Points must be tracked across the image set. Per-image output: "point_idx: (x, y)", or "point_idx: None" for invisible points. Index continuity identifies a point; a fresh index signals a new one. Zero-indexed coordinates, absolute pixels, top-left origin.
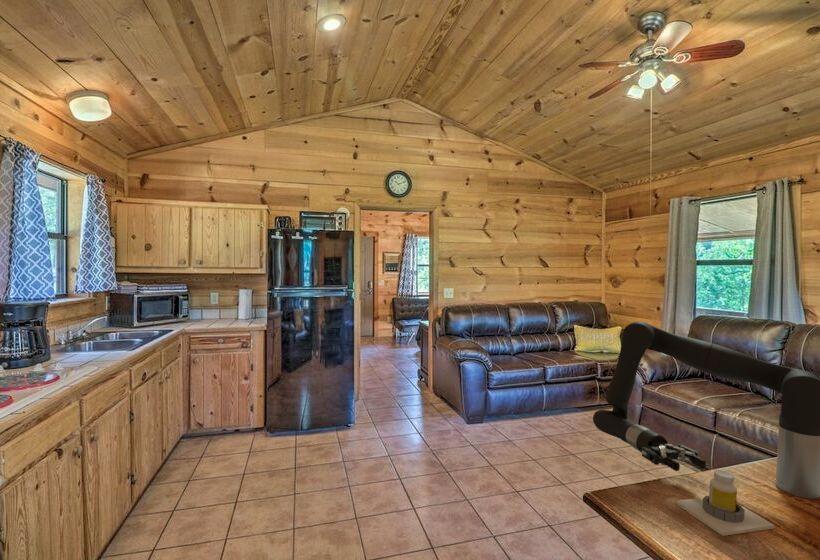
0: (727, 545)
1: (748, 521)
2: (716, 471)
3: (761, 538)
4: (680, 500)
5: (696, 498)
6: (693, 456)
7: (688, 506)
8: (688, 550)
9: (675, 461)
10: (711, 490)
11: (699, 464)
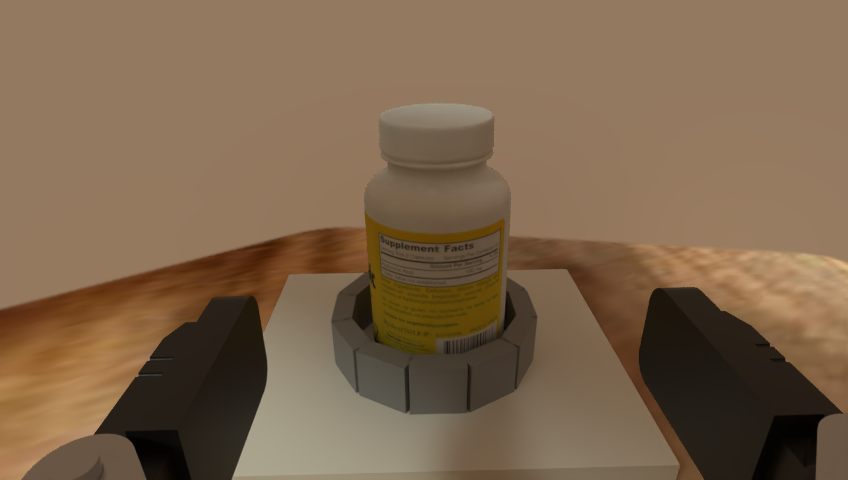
0: (585, 258)
1: None
2: (464, 120)
3: None
4: (634, 464)
5: (475, 468)
6: (191, 417)
7: (613, 402)
8: (754, 256)
9: (691, 312)
10: (507, 240)
11: (248, 392)
